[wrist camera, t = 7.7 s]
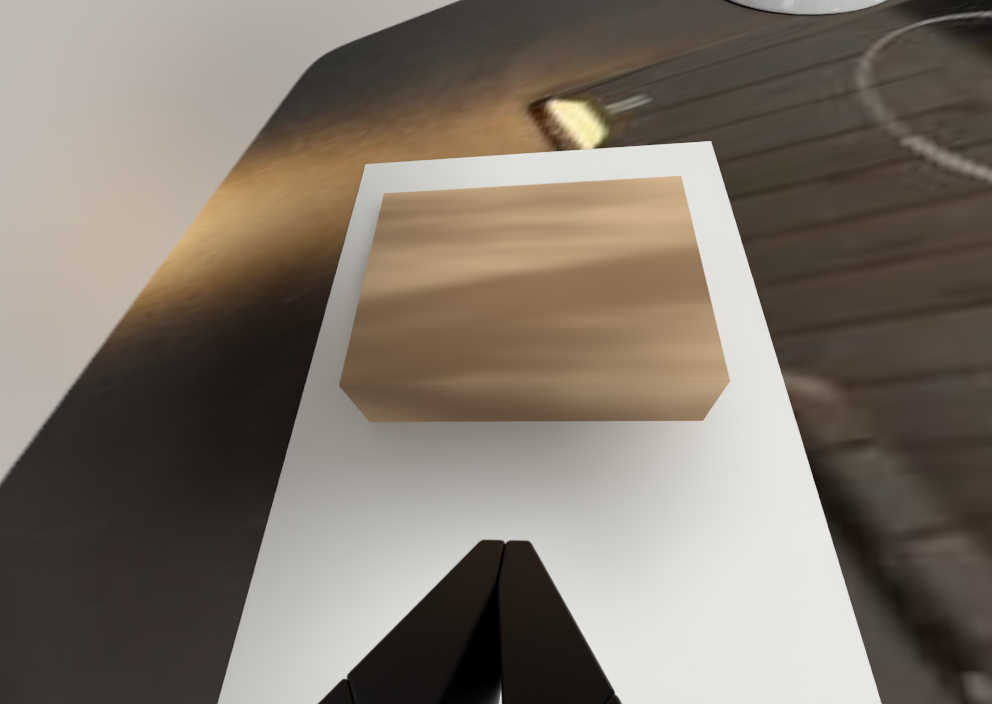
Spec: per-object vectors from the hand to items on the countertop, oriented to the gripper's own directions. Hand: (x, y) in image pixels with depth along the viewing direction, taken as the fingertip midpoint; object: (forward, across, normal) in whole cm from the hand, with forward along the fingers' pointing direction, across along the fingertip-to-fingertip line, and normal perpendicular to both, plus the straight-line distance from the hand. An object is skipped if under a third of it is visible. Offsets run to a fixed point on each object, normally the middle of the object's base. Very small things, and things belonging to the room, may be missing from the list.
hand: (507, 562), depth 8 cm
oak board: (+8, 0, 0) cm, 8 cm away
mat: (+12, 0, -1) cm, 12 cm away
